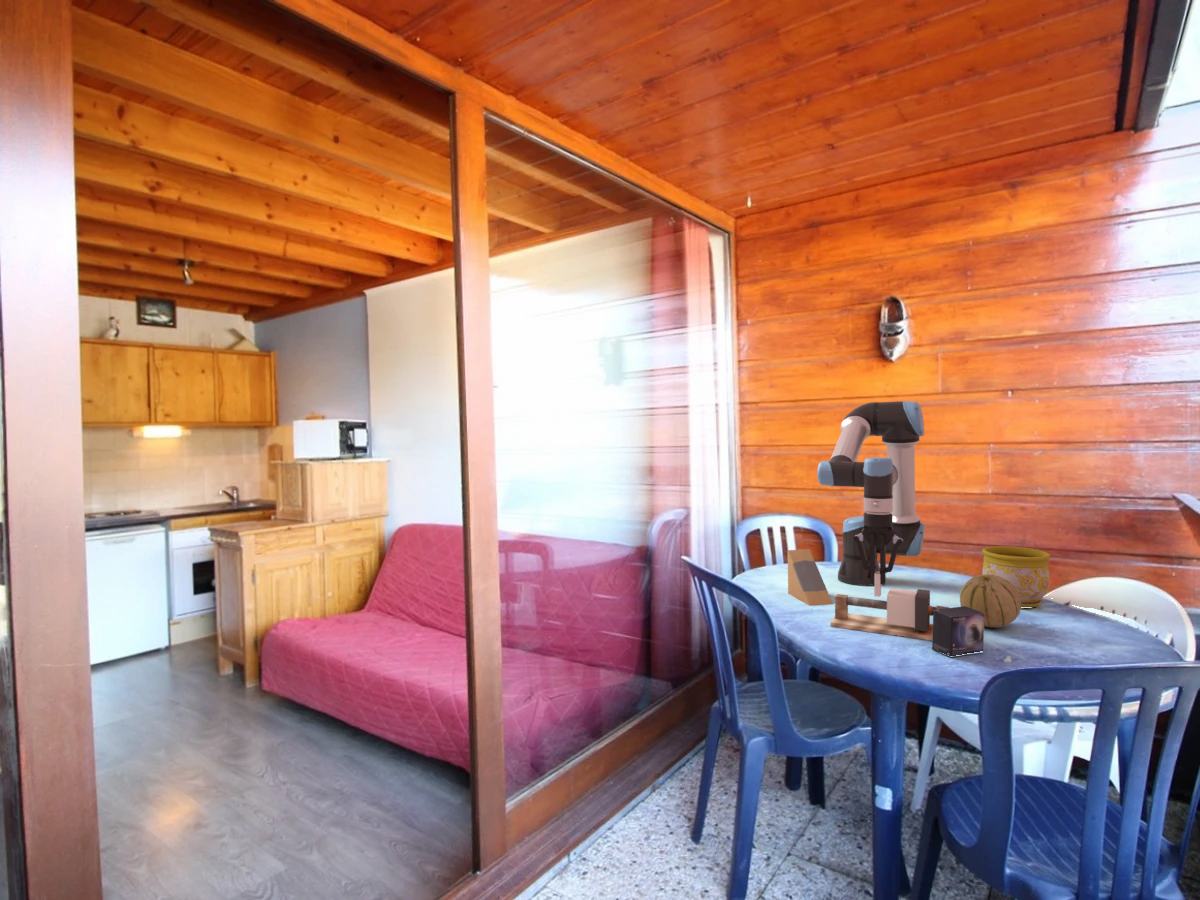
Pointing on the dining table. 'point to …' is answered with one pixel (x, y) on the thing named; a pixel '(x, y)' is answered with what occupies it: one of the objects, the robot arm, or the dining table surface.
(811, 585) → the sandwich container
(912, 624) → the sleeve
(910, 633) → the rail
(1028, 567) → the flowerpot
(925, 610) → the ring
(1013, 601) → the cantaloupe
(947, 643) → the small box
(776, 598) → the dining table surface
